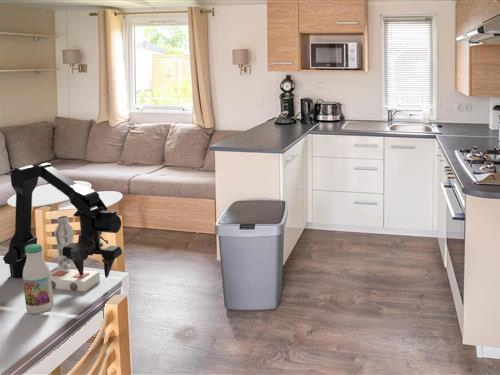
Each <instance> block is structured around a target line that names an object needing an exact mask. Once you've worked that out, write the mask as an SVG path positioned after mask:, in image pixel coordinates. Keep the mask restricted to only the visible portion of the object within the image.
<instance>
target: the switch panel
mask: <svg viewBox="0 0 500 375" xmlns="http://www.w3.org/2000/svg"><path fill="white" fill-rule="evenodd" d="M49 271H50V276H51V284H52V289H57V290H58V289H59V290H67V291H68V290H70V291H73V292H74V291H77V292H78V291H79V292H86V291H88V290H89V289H90V288H92V287H93V286H95V285H97V284H98V283H99V282H100V281H101V276H100V271H98V270H97V271H95V270H85V269H84V270H83V273H89V275H88V276H86V277H85V278H73V276H74V275H76V274H78V273H79V272H78V270H77V269H64V268H58V266H57V267H54V268H52V269H51V270H49ZM57 271H67V272H68V273H67V274H65V275H63V276H52V274H54V273H56V272H57Z"/></svg>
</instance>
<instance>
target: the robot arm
mask: <svg viewBox="0 0 500 375" xmlns="http://www.w3.org/2000/svg"><path fill="white" fill-rule="evenodd" d="M39 178H42V179H43V180H44V181H46V182H47V183H48V184H50V185H51V186H52V187H54V188H55V189H56V190H58V191H60V193H63V194H64V195H65V196H66V197H67V198H68V200H69V202H70V204H71V205H72V206H74V208H75V209H76V211H75V212H74V213H73V215H72V216H73V217H77V218H79V227H80V234H78V240H77V242H73V243H70V244H68V245H66V246H65V247H63V249H62V255H63V256H66V258H68V259H70V260H72V261H73V262H74V264H75V266H76V270H78V272H79V274H80V275H83V270H85V269H84V266H85V265H84V263H85V262H84V261H85V260H87V259H88V257H89V256H92V257H93V255H100V256H101V257H102V259H101V262H102V263H103V268H104V278H108V277H109V275H110V273H111V272H110V271H111V269H112V266H113V264H114V261H115V260H116V259H117V258H118V257H120V256H121V255H122V254H123V250H122V248H121V246H120V245H119V246H118V245H109V246H107V247H106V248H102V247H104V244H103V242H101V235H102V234H103V233H110V234H117V233H118V232H120V229H121V228H122V219H121V217H120V216H119V215H118V214H117V211H116V210H111V211H109V210H108V207H107V206H106V204H105V203H104V201H103V200H102V198H101V197H100V194H99V193H98V192H97V191H96V190H94V189H92V188H90V187H88V186H83V185H80V184H78V183H76V182H75V181H74V180H72V179H71V178H69V177H68V176H66V175H65V174H64V173H62V172H61V171H59V170H58V169H56V168H55V166H54V167H53V165H52V164H51V163H48V162H44V163H39V164H37V165H35V166H34V165H31V164H29V165H25V166H20V167H17V168H16V167H15V168H13V169H12V170H11V172H10V184H11V187H12V189H13V190H14V192H15V223H14V225H15V226H14V233H13V235H12V237H11V239H10V241H9V246H8V250H7V252H6V253H5V255H4V256H3V258H2V260H3V262H4V264H6V265H8V266H9V275H10V276H9V277H7V280H9V279H11V278H12V279H13V278H14V279H23V269H24V266H25V263H26V259H27V255H26V252H25V247H26V246H28V245H31V244H38V237H35V236H34V235H33V234H32V207H33V206H32V205H33V192H34V190H35V188H37V185H38V180H39Z"/></svg>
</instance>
